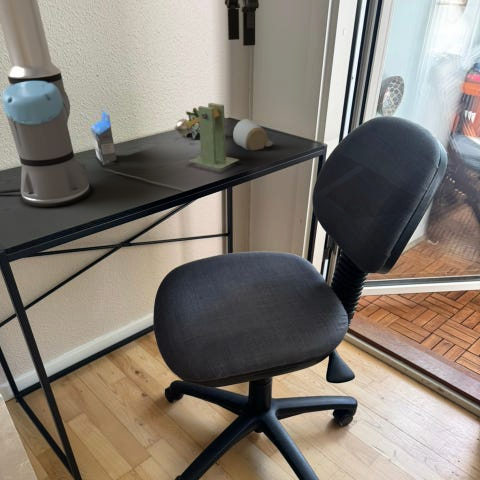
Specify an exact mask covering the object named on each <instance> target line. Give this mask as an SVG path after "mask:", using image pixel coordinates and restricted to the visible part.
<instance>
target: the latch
mask: <svg viewBox="0 0 480 480" xmlns="http://www.w3.org/2000/svg"><path fill="white" fill-rule="evenodd" d="M211 108H214V116H215V118H216V117H218V116H220V115H219V112H218V110H217V107H216V106H214V107H211ZM198 122H199V117H198V118H196V119H194V120H192V121H190V122H189V119H186V118H181V119H179V120H178V121H176V124H175V127H176V129H177V130H176V131H177V133H178V134H180V136H185V135H186V134H187V135H189V134H190V133H191V131H190V130H192V129H191V126H192V125H194V124H195V125H197V124H198ZM196 123H197V124H196ZM195 125H194V126H195ZM189 132H190V133H189ZM188 133H189V134H188Z"/></svg>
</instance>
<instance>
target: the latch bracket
mask: <svg viewBox="0 0 480 480" xmlns="http://www.w3.org/2000/svg"><path fill="white" fill-rule="evenodd" d="M214 106H216V107H217V110H218V112H219V115H220V116H218V117H216V118H215V116H214V108H211V107H214ZM197 110H198V113H199V124H198V127H199V128H198V129H200V131H199V139H200V140H199V143H200V155H199V156H197V157H194V158H192V159H190V160H188V162H190V163H195V164H199V165H202V166H207V167H211V168H216V169H221V170H222V169H223V168H225V167H227V166H230V165H231V164H234V163H236V162H238V161H240V159H239V158H233V157H229V156H227V150H226V149H227V147H226V124H225V123H226V122H225V104H220V103H214V102H209V103H208V104H207V106H202V105H199V106H197Z"/></svg>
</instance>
